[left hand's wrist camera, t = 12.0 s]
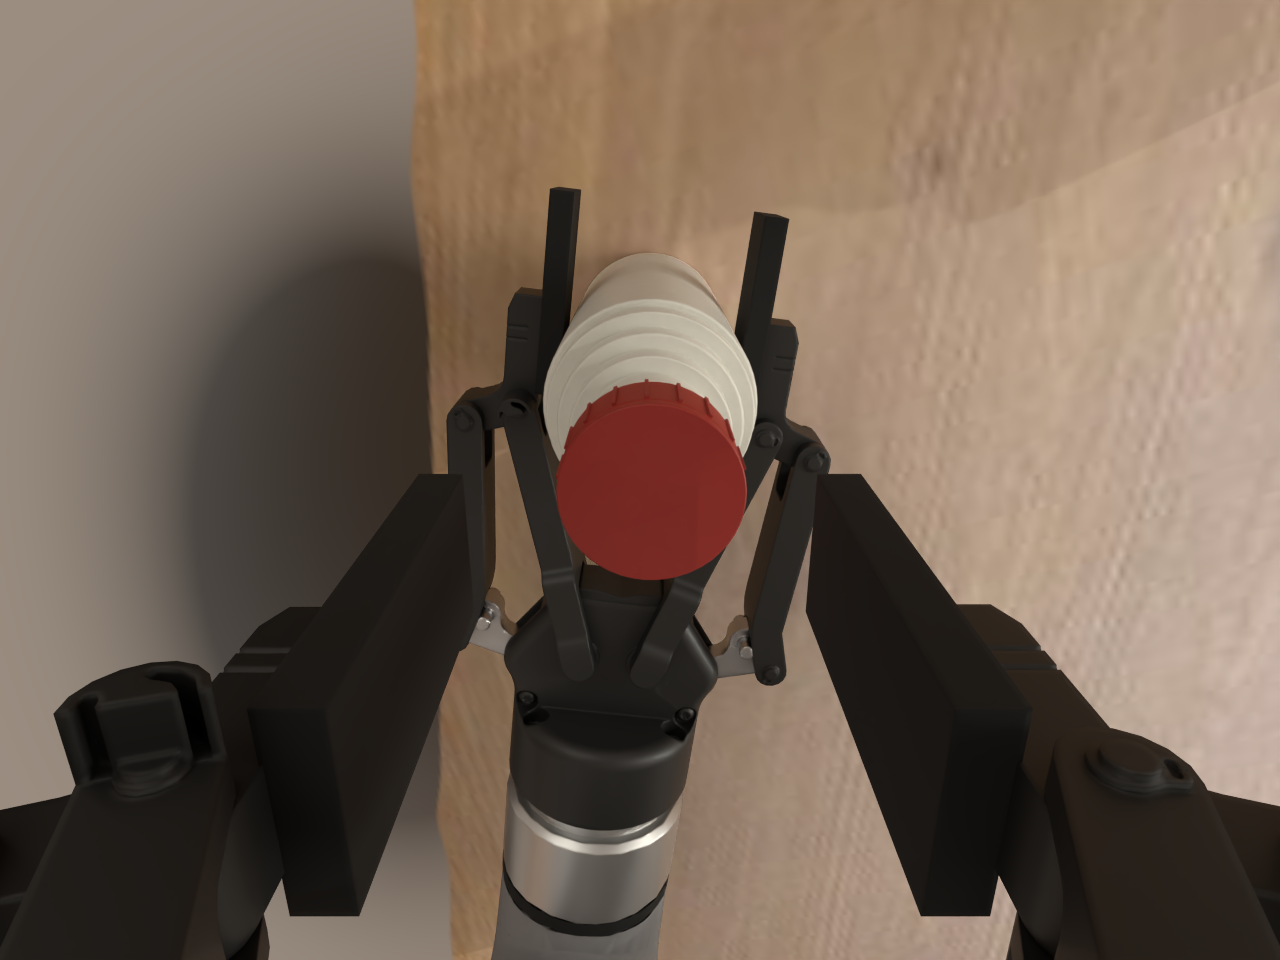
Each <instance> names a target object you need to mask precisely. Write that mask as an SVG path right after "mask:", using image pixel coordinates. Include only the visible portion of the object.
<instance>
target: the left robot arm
mask: <svg viewBox="0 0 1280 960" xmlns="http://www.w3.org/2000/svg"><path fill="white" fill-rule="evenodd" d="M473 613H474V603H473V591H472V579H471V567H470V555H469V543H468V531H467V519H466V507H465V495H464V483H463V474H419V475H418V476H417V478H416V479H415V480H414V482H413V483H412V484H411V486H410V487H409V489H408V490H407V491H406V493H405V494H404V495H403V497H402V498H401V499H400V501H399V502H398V504H397V505H396V506H395V508H394V509H393V510H392V512H391V513H390V514H389V516H388V517H387V519H386V520H385V521H384V523H383V524H382V525H381V527H380V528H379V529H378V531H377V532H376V534H375V535H374V536H373V538H372V539H371V540H370V542H369V543H368V544H367V546H366V547H365V549H364V550H363V551H362V553H361V554H360V555H359V557H358V558H357V559H356V561H355V562H354V564H353V565H352V566H351V568H350V569H349V570H348V572H347V573H346V574H345V576H344V577H343V579H342V580H341V581H340V583H339V584H338V585H337V587H336V588H335V589H334V591H333V592H332V594H331V595H330V596H329V598H328V599H327V600H326V602H325V603H324V604H323V606H322V607H289V608H288V609H286V610H284V611H283V612H281V613H280V614H278V615H276V616H275V617H273V618H272V619H270V620H268V621H267V622H265V623H264V624H262V625H260V626H259V627H258V628H257V629H256V630H255V632H254V633H253V634H252V635H251V636H250V638H249V639H248V640H247V641H246V642H245V644H244V645H243V646H242V647H241V648H240V653H239V654H235V655H234V657H233V658H232V659H231V660H230V661H229V663H228V664H227V665H226V666H225V667H224V672H223V673H219V674H218V676H217V677H216V678H215V679H214V680H213V682H212V681H211V677H210V674H209V673H208V672H207V671H205V670H204V669H202V668H201V667H200V666H199V665H196V664H190V663H185V662H180V661H169V662H153V663H147V664H143V665H139V666H135V667H130V668H126V669H122V670H119V671H117V672H114V673H112V674H110V675H107V676H105V677H102V678H100V679H98V680H95V681H93V682H91V683H90V684H88V685H86V686H85V687H83V688H82V689H80V690H79V691H77V692H75V693H74V694H72V695H71V696H69V697H68V698H67V699H66V700H65V701H64V703H63V704H62V705H61V706H60V707H59V708H58V709H57V710H56V711H55V713H54V717H55V720H56V724H57V727H58V730H59V733H60V736H61V740H62V743H63V746H64V749H65V752H66V756H67V759H68V762H69V765H70V768H71V772H72V775H73V778H74V781H75V784H76V786H75V788H74V790H73V792H72V794H70V795H67V796H63V797H60V798H55V799H50V800H46V801H41V802H36V803H31V804H27V805H22V806H17V807H12V808H8V809H3V810H0V960H268V957H269V949H270V946H269V939H268V932H267V927H266V922H265V918H264V912H265V910H266V908H267V906H268V904H269V902H270V900H271V898H272V896H273V894H274V892H275V890H276V888H277V886H278V884H279V883H280V881H281V879H282V880H283V885H284V890H285V895H286V900H287V904H288V909H289V914H290V916H359V915H360V912H361V910H362V907H363V904H364V902H365V899H366V897H367V894H368V891H369V888H370V886H371V883H372V881H373V878H374V875H375V873H376V870H377V867H378V865H379V862H380V859H381V857H382V854H383V852H384V849H385V846H386V844H387V841H388V838H389V836H390V833H391V830H392V828H393V825H394V822H395V820H396V817H397V814H398V812H399V809H400V807H401V804H402V801H403V799H404V796H405V793H406V791H407V788H408V785H409V783H410V780H411V777H412V775H413V772H414V770H415V767H416V764H417V762H418V759H419V756H420V754H421V751H422V748H423V746H424V743H425V740H426V738H427V735H428V733H429V730H430V727H431V725H432V722H433V719H434V717H435V714H436V711H437V709H438V706H439V703H440V701H441V698H442V695H443V693H444V690H445V688H446V685H447V682H448V680H449V677H450V674H451V672H452V669H453V666H454V664H455V661H456V658H457V656H458V653H459V651H460V648H461V645H462V643H463V640H464V637H465V635H466V632H467V629H468V627H469V624H470V621H471V619H472V616H473ZM806 613H807V616H808V619H809V621H810V624H811V627H812V629H813V632H814V635H815V637H816V640H817V643H818V645H819V648H820V651H821V653H822V656H823V658H824V661H825V664H826V666H827V669H828V672H829V674H830V677H831V680H832V682H833V685H834V688H835V690H836V693H837V695H838V698H839V701H840V703H841V706H842V709H843V711H844V714H845V717H846V719H847V722H848V725H849V727H850V730H851V733H852V735H853V738H854V740H855V743H856V746H857V748H858V751H859V754H860V756H861V759H862V762H863V764H864V767H865V770H866V772H867V775H868V777H869V780H870V783H871V785H872V788H873V791H874V793H875V796H876V799H877V801H878V804H879V807H880V809H881V812H882V815H883V817H884V820H885V822H886V825H887V828H888V830H889V833H890V836H891V838H892V841H893V844H894V846H895V849H896V852H897V854H898V857H899V859H900V862H901V865H902V867H903V870H904V873H905V875H906V878H907V881H908V883H909V886H910V889H911V891H912V894H913V897H914V899H915V902H916V904H917V907H918V910H919V912H920V915H921V916H990V914H991V909H992V904H993V900H994V895H995V890H996V885H997V881H998V876H999V877H1000V878H1001V880H1002V882H1003V884H1004V886H1005V888H1006V890H1007V892H1008V894H1009V896H1010V898H1011V900H1012V902H1013V904H1014V906H1015V908H1016V910H1017V913H1016V918H1015V922H1014V927H1013V931H1012V935H1011V940H1010V944H1009V949H1008V953H1007V958H1006V960H1280V806H1275V805H1271V804H1266V803H1261V802H1256V801H1252V800H1247V799H1242V798H1237V797H1233V796H1228V795H1223V794H1219V793H1216V792H1212V791H1208V790H1207V788H1206V786H1205V784H1204V783H1203V781H1202V780H1201V779H1200V778H1199V776H1198V775H1197V774H1196V772H1195V771H1194V770H1193V768H1192V767H1191V766H1190V765H1189V764H1187V763H1186V762H1185V761H1183V760H1182V759H1181V758H1179V757H1178V756H1177V755H1175V754H1174V753H1173V752H1171V751H1170V750H1169V749H1167V748H1165V747H1163V746H1161V745H1159V744H1156V743H1154V742H1152V741H1150V740H1148V739H1146V738H1144V737H1142V736H1139V735H1135V734H1131V733H1128V732H1124V731H1120V730H1117V729H1113V728H1110V727H1109V726H1108V725H1107V724H1106V723H1105V722H1104V720H1103V719H1102V718H1101V717H1100V716H1099V714H1098V713H1097V712H1096V711H1095V710H1094V709H1093V707H1092V706H1091V705H1090V704H1089V703H1088V701H1087V700H1086V699H1085V698H1084V697H1083V696H1082V694H1081V693H1080V692H1079V691H1078V690H1077V688H1076V687H1075V686H1074V685H1073V684H1072V683H1071V681H1070V680H1069V679H1068V678H1067V677H1066V676H1065V674H1064V673H1063V672H1062V671H1061V670H1057V665H1056V664H1055V663H1054V661H1053V660H1052V659H1051V658H1050V657H1049V655H1048V654H1047V653H1046V652H1045V651H1041V646H1040V645H1039V644H1038V642H1037V641H1036V640H1035V639H1034V638H1033V637H1032V635H1031V634H1030V633H1029V632H1028V631H1027V629H1026V628H1025V627H1024V626H1023V625H1022V624H1021V623H1020V622H1018V621H1016V620H1015V619H1013V618H1012V617H1010V616H1008V615H1007V614H1005V613H1004V612H1002V611H1000V610H999V609H997V608H996V607H994V606H992V605H991V604H956V603H955V602H954V600H953V599H952V598H951V596H950V595H949V594H948V592H947V591H946V589H945V588H944V587H943V585H942V584H941V583H940V581H939V580H938V579H937V577H936V576H935V574H934V573H933V572H932V570H931V569H930V568H929V566H928V565H927V564H926V562H925V561H924V559H923V558H922V557H921V555H920V554H919V553H918V551H917V550H916V549H915V547H914V546H913V544H912V543H911V542H910V540H909V539H908V538H907V536H906V535H905V534H904V532H903V531H902V529H901V528H900V527H899V525H898V524H897V523H896V521H895V520H894V519H893V517H892V516H891V514H890V513H889V512H888V510H887V509H886V508H885V506H884V505H883V504H882V502H881V501H880V499H879V498H878V497H877V495H876V494H875V493H874V491H873V490H872V489H871V487H870V486H869V484H868V483H867V482H866V480H865V479H864V478H863V476H862V475H861V474H817V483H816V495H815V507H814V519H813V531H812V543H811V555H810V567H809V579H808V591H807V603H806Z"/></svg>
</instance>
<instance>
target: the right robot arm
mask: <svg viewBox="0 0 1280 960" xmlns="http://www.w3.org/2000/svg"><path fill="white" fill-rule="evenodd" d="M580 197H581V190H580V189H572V188H564V187H556V188H551V189H550V195H549V209H548V222H547V236H546V249H545V263H544V276H543V290H539V289H531V288H523V287H521V288H520V289H519V290H518V291H517V292H516V293H515V295H514V297H513V299H512V301H511V303H510V305H509V307H508V319H507V338H506V352H505V369H504V379H503V382H501V383H500V384H497V385H494V386H489V387H485V388H479V387H474V388H470V389H469V390H467V391H466V392H465V393H464V394H463V395H462V397H461V398H460V399H459V400H458V401H457V403H456V404H455V405H454V406H453V408H452V409H451V410H450V412H449V413H448V415H447V451H448V474H463V483H464V495H465V507H466V519H467V531H468V543H469V555H470V567H471V579H472V591H473V603H474V613H473V616H472V619H471V621H470V624H469V627H468V629H467V632H466V635H465V637H464V640H463V643H462V645H461V648H460V651H461V650H463V649H465V648H466V646H467V645H468V644H469V643H472V644H475V645H477V646H480V647H483V648H486V649H489V650H491V651H494V652H497V653H500V654H502V655H504V661H505V665H506V667H507V669H508V671H509V672H510V674H511V676H512V678H513V681H514V686H515V693H514V707H513V720H512V733H511V746H510V775H509V779H508V783H507V798H506V813H505V828H504V849H503V873H502V882H501V891H500V900H499V909H498V918H497V927H496V934H495V941H494V947H493V953H492V958H491V960H657V956H658V942H659V933H660V925H661V918H662V911H663V903H664V896H665V889H666V886H667V882H668V876H669V871H670V868H671V864H672V859H673V854H674V848H675V842H676V837H677V831H678V825H679V820H680V814H681V809H682V799H683V789H684V787H685V783H686V778H687V773H688V767H689V761H690V755H691V750H692V744H693V738H694V733H695V727H696V721H697V716H698V711H699V707H700V705H701V702H702V701H703V699H704V698H705V696H706V695H707V694H708V693H709V692H710V691H711V690H712V689H713V687H714V686H715V684H716V682H717V678H723V677H730V676H737V675H745V674H752V673H755V675H756V678H757V680H758V681H759V682H760V683H762V684H764V685H768V686H773V685H776V684H779V683H780V682H781V681H783V680H784V678H785V676H786V663H785V655H784V646H783V638H782V632H783V628H784V625H785V621H786V618H787V614H788V611H789V607H790V604H791V600H792V597H793V593H794V590H795V586H796V583H797V580H798V576H799V573H800V569H801V566H802V562H803V559H804V555H805V552H806V548H807V545H808V541H809V538H810V534H811V531H812V527H813V519H814V507H815V495H816V483H817V474H828V472H829V468H830V463H831V459H830V456H829V453H828V452H827V450H826V449H825V447H824V446H823V444H822V442H821V441H820V439H819V438H818V436H817V435H816V433H815V432H814V431H813V430H812V429H811V428H809V427H807V426H800V425H798V424H796V423H794V422H792V421H790V420H789V419H787V418H786V407H787V401H788V396H789V391H790V386H791V381H792V375H793V370H794V365H795V359H796V355H797V349H798V344H799V342H798V337H797V332H796V327H795V326H794V325H793V324H792V323H791V322H790V321H789V320H783V319H775V318H772V313H773V307H774V301H775V296H776V290H777V285H778V279H779V273H780V268H781V262H782V257H783V251H784V245H785V240H786V234H787V228H788V223H789V219H788V218H785V217H782V216H779V215H776V214H769V213H761V212H754V217H753V223H752V229H751V235H750V241H749V247H748V253H747V260H746V266H745V272H744V278H743V284H742V290H741V296H740V303H739V309H738V315H737V321H736V327H735V333H734V334H735V336H736V338H737V339H738V341H739V343H740V345H741V347H742V349H743V351H744V353H745V355H746V357H747V358H748V360H749V363H750V365H751V368H752V371H753V374H754V378H755V383H756V388H757V416H756V420H755V425H754V429H753V432H752V436H751V440H750V442H749V445H748V448H747V451H746V453H745V455H744V456H743V460H744V463H745V466H746V470H745V471H744V473H745V477H746V486H747V497H746V506H745V510H744V513H745V511H746V510H747V508H748V506H749V504H750V502H751V500H752V498H753V497H754V495H755V493H756V491H757V489H758V487H759V485H760V484H761V482H762V480H763V478H764V476H765V474H766V473H767V471H768V469H769V467H770V465H771V463H772V461H773V460H774V459H776V460H778V461H779V465H778V468H777V472H776V476H775V480H774V484H773V487H772V491H771V495H770V499H769V503H768V506H767V510H766V514H765V518H764V522H763V525H762V529H761V533H760V537H759V541H758V544H757V548H756V552H755V556H754V560H753V563H752V567H751V571H750V575H749V579H748V582H747V586H746V591H745V597H744V614H745V616H744V615H738V616H736V617H735V618H734V620H733V621H732V622H731V623H730V624H729V626H728V630H727V635H726V637H725V639H724V640H723V641H722V642H720V643H718V644H714V645H712V643H711V641H710V640H709V638H708V637H707V635H706V633H705V632H704V630H703V628H702V627H701V625H700V623H699V622H698V620H697V618H696V617H695V615H694V614H695V612H696V610H697V608H698V606H699V604H700V601H701V597H702V593H703V590H704V587H705V585H706V583H707V582H708V580H709V578H710V576H711V574H712V572H713V570H714V569H715V567H716V565H717V563H718V561H719V559H720V558H721V556H722V554H723V552H724V550H725V548H726V547H725V548H724V549H723V550H722V551H721V552H720V553H719V554H718V555H717V556H716V557H715V558H714V559H712V560H711V561H710V562H708V563H707V564H705V565H704V566H702V567H700V568H698V569H696V570H694V571H692V572H690V573H687V574H684V575H681V576H678V577H674V578H669V579H661V580H641V579H634V578H629V577H625V576H621V575H618V574H616V573H613V572H610V571H608V570H606V569H605V568H603V567H601V566H596V565H587V562H586V558H585V554H584V553H582V552H581V551H580V549H579V548H578V547H577V546H576V545H575V544H574V542H573V541H572V540H571V538H570V536H569V535H568V533H567V532H566V529H565V527H564V525H563V523H562V521H561V517H560V514H559V511H558V505H557V495H556V487H557V479H556V473H557V470H558V466H559V463H560V461H559V459H558V458H557V455H556V453H555V451H554V449H553V447H552V444H551V440H550V438H549V434H548V431H547V428H546V424H545V418H544V412H543V395H544V385H545V381H546V377H547V373H548V370H549V367H550V365H551V362H552V360H553V357H554V355H555V353H556V351H557V349H558V347H559V345H560V343H561V341H562V339H563V337H564V335H565V333H566V331H567V329H568V327H569V323H570V311H571V300H572V289H573V277H574V266H575V254H576V243H577V231H578V220H579V208H580ZM500 427H504V429H505V433H506V436H507V440H508V444H509V448H510V452H511V456H512V460H513V464H514V467H515V471H516V475H517V479H518V483H519V487H520V491H521V494H522V498H523V502H524V506H525V510H526V514H527V518H528V522H529V525H530V529H531V533H532V537H533V541H534V545H535V549H536V552H537V556H538V560H539V564H540V568H541V574H542V588H543V592H544V596H543V597H542V598H541V599H540V600H539V601H538V602H537V603H536V604H535V605H534V606H533V607H532V608H531V609H530V610H529V611H528V612H527V613H526V614H525V615H524V616H523V617H522V618H521V619H520V620H519V621H518V622H517V623H514V622H512V621H510V620H509V619H508V618H507V616H506V614H505V611H504V609H505V600H504V598H503V596H502V595H501V594H500V591H499V590H498V589H496V588H490V587H491V584H492V581H493V577H494V572H495V562H496V538H495V442H494V429H496V428H500Z"/></svg>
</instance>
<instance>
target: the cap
mask: <svg viewBox="0 0 1280 960" xmlns="http://www.w3.org/2000/svg"><path fill="white" fill-rule="evenodd" d="M564 449H565V452H564V454H562V456H561V460H560V463H559V466H558V470H557V473H556V479H557V487H556V495H557V505H558V511H559V514H560V517H561V521H562V523H563V525H564V527H565V529H566V532H567V533H568V535H569V536H570V538H571V540H572V541H573V542H574V544H575V545H576V546H577V547H578V548H579V549H580V551H581V552H582V553H584V554H585V555H586V556H587V557H588V558H589V559H590V560H592V561H593V562H595V563H596V564H598V565H599V566H601V567H603V568H605V569H606V570H608V571H610V572H613V573H616V574H618V575H621V576H625V577H629V578H634V579H641V580H661V579H669V578H674V577H678V576H681V575H684V574H687V573H690V572H692V571H694V570H696V569H698V568H700V567H702V566H704V565H705V564H707V563H708V562H710V561H711V560H712V559H714V558H715V557H716V556H717V555H718V554H719V553H720V552H721V551H722V550H723V549H724V548H725V547H726V546H727V545H728V544H729V542H730V541H731V539H732V538H733V536H734V535H735V533H736V531H737V529H738V527H739V525H740V523H741V520H742V517H743V515H744V510H745V506H746V497H747V486H746V477H745V473H744V471H745V470H746V466H745V463H744V460H743V457H742V454H741V451H740V448H739V446H736V443H735V438H734V435H733V432H732V429H731V426H730V423H729V421H728V419H725V420H724V418H723V417H722V415H721V414H720V413H719V412H718V411H717V409H716V408H715V407H714V406H713V405H712V404H711V403H710V402H709V399H708V398H707V397H706V396H705V398H703V397H701V396H700V395H698V394H696V393H695V392H693V391H691V390H689V389H686V388H684V387H681V384H680V383H676V385H674V384H671V383H664V382H649V379H645V382H638V383H632V384H628V385H624V386H621V387H619V388H618V387H617V386H614V387H613V390H612V391H610V392H608V393H606V394H604V395H603V396H601V397H600V398H598V399H597V400H596V401H594V402H593V403H591V402H589V403H588V404H587V408H586V410H585V411H584V412H583V413H582V415H581V416H580V417H579V419H578V420H577V422H576V423H575V425H574V427H572V426H571V427H570V429H569V432H568V435H567V439H566V442H565V445H564Z"/></svg>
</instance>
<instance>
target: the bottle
mask: <svg viewBox="0 0 1280 960" xmlns="http://www.w3.org/2000/svg"><path fill="white" fill-rule="evenodd" d="M645 379H649V382H664V383H671V384H674V385H676V383H680V384H681V387H684V388H686V389H689V390H691V391H693V392H695V393H696V394H698V395H700V396H701V397H703V398H705V396H706V397H707V398H708V399H709V402H710V403H711V404H712V405H713V406H714V407H715V408H716V409H717V411H718V412H719V413H720V414H721V415H722V417H723V418H724V420H725V419H728V421H729V423H730V426H731V429H732V432H733V435H734V438H735V443H736V446H739V448H740V451H741V454H742V457H743V456H744V455H745V453H746V451H747V448H748V445H749V442H750V440H751V436H752V432H753V429H754V425H755V420H756V416H757V388H756V383H755V378H754V374H753V371H752V368H751V365H750V363H749V360H748V358H747V357H746V355H745V353H744V351H743V349H742V347H741V345H740V343H739V341H738V339H737V338H736V336H735V334H734V332H733V330H732V328H731V326H730V324H729V323H728V321H727V319H726V317H725V315H724V313H723V311H722V309H721V308H720V306H719V304H718V302H717V300H716V298H715V296H714V295H713V293H712V291H711V289H710V287H709V285H708V284H707V283H706V281H705V280H704V278H703V277H702V276H701V275H700V274H699V273H698V272H697V271H696V270H695V269H693V268H692V267H691V266H690V265H688V264H686V263H685V262H683V261H681V260H679V259H677V258H675V257H672V256H668V255H665V254H659V253H639V254H634V255H630V256H626V257H624V258H621V259H619V260H617V261H615V262H613V263H612V264H610V265H609V266H607V267H606V268H605V269H604V270H602V271H601V272H600V273H599V274H598V275H597V276H596V277H595V279H594V280H593V281H592V283H591V284H590V286H589V287H588V289H587V291H586V293H585V295H584V297H583V299H582V301H581V303H580V305H579V307H578V309H577V311H576V313H575V315H574V317H573V319H572V321H571V323H570V325H569V327H568V329H567V331H566V333H565V335H564V337H563V339H562V341H561V343H560V345H559V347H558V349H557V351H556V353H555V355H554V357H553V360H552V362H551V365H550V367H549V370H548V373H547V377H546V381H545V385H544V395H543V412H544V418H545V424H546V428H547V431H548V434H549V438H550V440H551V444H552V447H553V449H554V451H555V453H556V455H557V458H558V459H559V461H560V460H561V456H562V454H564V452H565V449H564V445H565V442H566V439H567V435H568V432H569V429H570V427H571V426H572V427H574V425H575V423H576V422H577V420H578V419H579V417H580V416H581V415H582V413H583V412H584V411H585V410H586V408H587V404H588V403H589V402H591V403H593V402H594V401H596V400H597V399H598V398H600V397H601V396H603V395H604V394H606V393H608V392H610V391H612V390H613V387H614V386H617V387H618V388H619V387H621V386H624V385H628V384H632V383H638V382H645Z"/></svg>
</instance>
